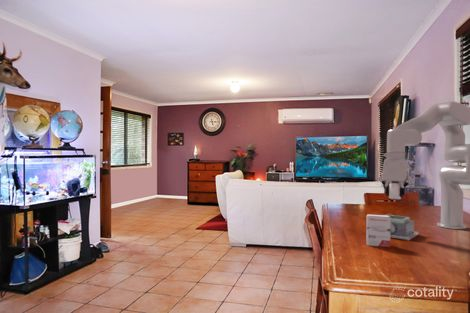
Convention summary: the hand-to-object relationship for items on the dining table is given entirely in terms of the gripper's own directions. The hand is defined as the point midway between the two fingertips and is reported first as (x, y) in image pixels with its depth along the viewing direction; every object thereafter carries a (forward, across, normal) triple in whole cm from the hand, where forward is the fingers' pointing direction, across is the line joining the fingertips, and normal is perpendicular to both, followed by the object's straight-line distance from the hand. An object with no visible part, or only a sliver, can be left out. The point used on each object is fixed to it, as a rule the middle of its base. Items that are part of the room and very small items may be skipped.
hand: (394, 195), depth 151 cm
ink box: (+18, +1, -25) cm, 31 cm away
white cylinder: (+1, 0, 0) cm, 1 cm away
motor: (+18, 0, 0) cm, 18 cm away
